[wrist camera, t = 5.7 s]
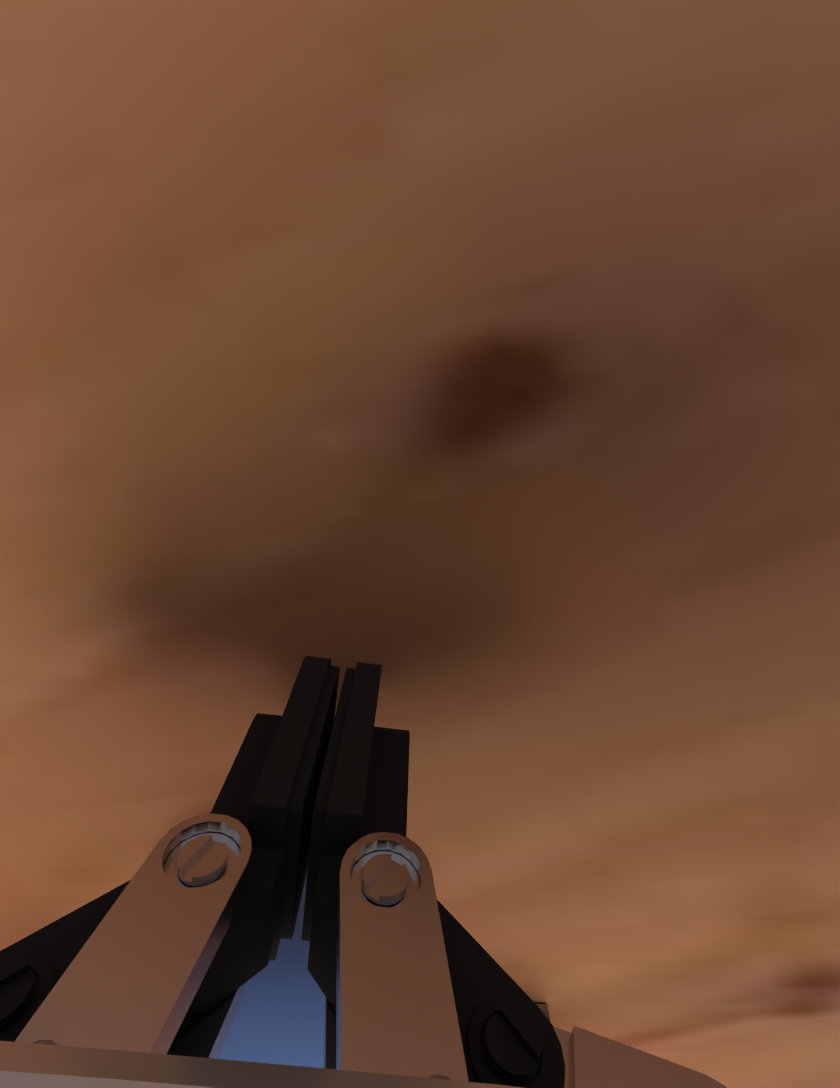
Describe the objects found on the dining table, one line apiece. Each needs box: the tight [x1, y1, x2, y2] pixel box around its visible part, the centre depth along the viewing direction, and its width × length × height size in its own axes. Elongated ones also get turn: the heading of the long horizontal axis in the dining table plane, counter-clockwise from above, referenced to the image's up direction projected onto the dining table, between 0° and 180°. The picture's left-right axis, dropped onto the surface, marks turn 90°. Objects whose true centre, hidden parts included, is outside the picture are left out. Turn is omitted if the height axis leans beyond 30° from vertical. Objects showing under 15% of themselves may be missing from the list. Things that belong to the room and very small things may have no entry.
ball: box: [218, 875, 325, 1068], centre depth 13 cm, size 6×6×6 cm
